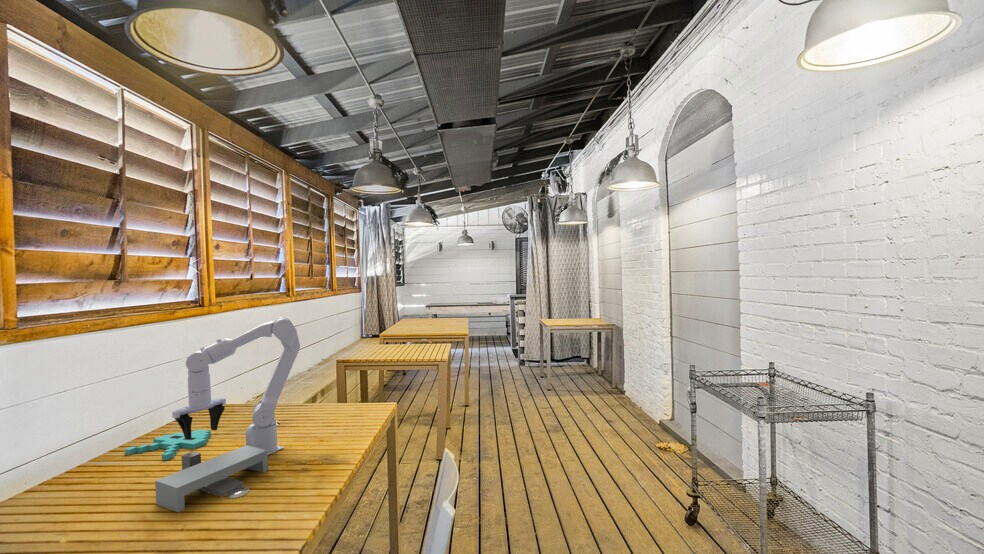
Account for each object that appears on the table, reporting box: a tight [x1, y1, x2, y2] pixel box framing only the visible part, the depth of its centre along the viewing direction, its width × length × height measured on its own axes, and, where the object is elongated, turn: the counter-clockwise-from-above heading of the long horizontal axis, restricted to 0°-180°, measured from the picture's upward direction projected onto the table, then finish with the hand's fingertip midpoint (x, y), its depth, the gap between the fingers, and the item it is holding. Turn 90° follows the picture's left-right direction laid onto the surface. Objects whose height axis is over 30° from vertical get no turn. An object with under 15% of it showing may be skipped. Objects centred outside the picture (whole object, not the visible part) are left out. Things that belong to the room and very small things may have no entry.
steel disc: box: [226, 486, 250, 499], centre depth 112 cm, size 5×5×1 cm
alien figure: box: [124, 429, 212, 461], centre depth 148 cm, size 20×2×20 cm
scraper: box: [180, 450, 245, 498], centre depth 118 cm, size 21×6×7 cm, turn 63°
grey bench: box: [154, 444, 269, 513], centre depth 117 cm, size 10×24×6 cm, turn 153°
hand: (201, 434), depth 131 cm, fingers open, 7 cm apart
